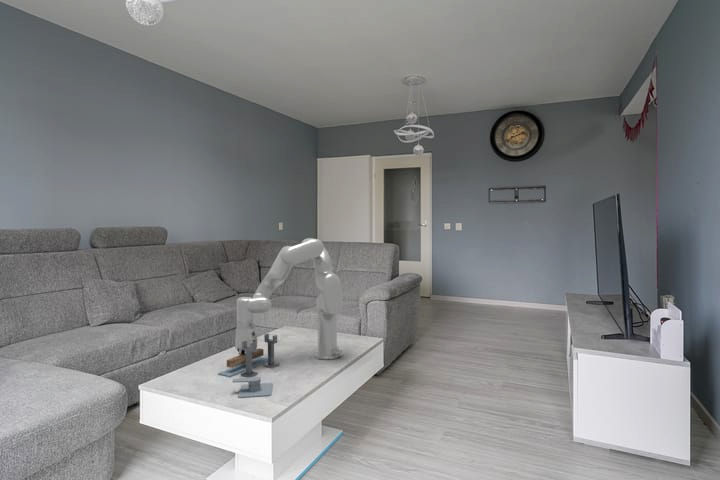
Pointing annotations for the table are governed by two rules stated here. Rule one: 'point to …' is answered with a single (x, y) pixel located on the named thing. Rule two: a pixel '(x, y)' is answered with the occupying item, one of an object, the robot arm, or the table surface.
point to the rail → (243, 358)
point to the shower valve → (254, 388)
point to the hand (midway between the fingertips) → (246, 363)
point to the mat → (243, 367)
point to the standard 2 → (270, 351)
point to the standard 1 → (248, 359)
